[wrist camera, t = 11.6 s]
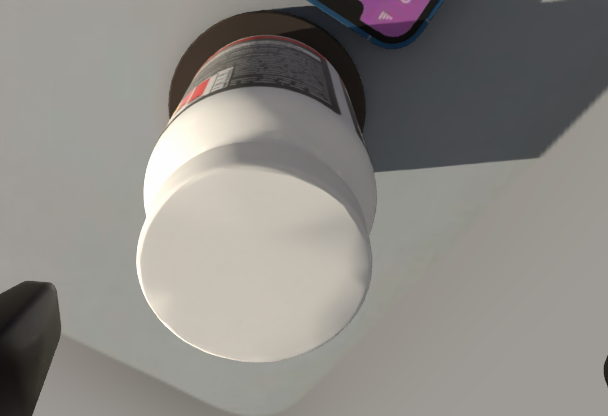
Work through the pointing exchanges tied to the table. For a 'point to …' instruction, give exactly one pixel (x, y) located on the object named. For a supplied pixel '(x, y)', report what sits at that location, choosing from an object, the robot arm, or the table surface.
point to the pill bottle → (259, 206)
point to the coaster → (267, 25)
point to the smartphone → (383, 18)
